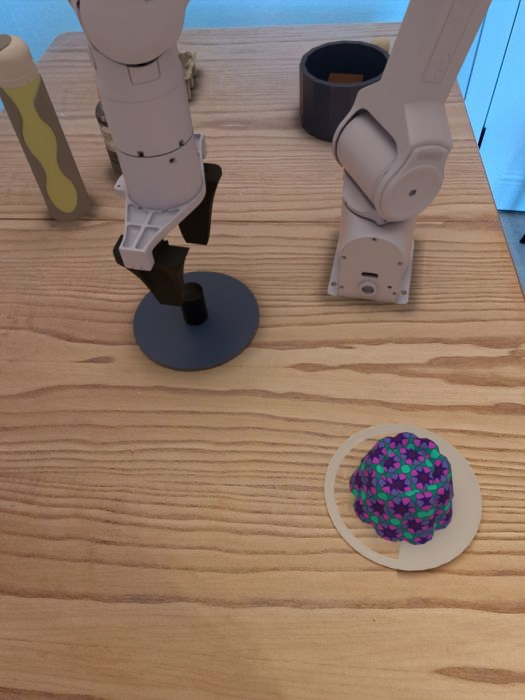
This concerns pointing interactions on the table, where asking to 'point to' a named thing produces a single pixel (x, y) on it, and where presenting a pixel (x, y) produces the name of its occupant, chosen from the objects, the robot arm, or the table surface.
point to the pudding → (410, 496)
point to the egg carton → (188, 69)
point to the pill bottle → (107, 139)
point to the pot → (335, 98)
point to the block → (345, 78)
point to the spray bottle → (40, 132)
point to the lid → (198, 323)
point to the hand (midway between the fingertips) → (185, 270)
